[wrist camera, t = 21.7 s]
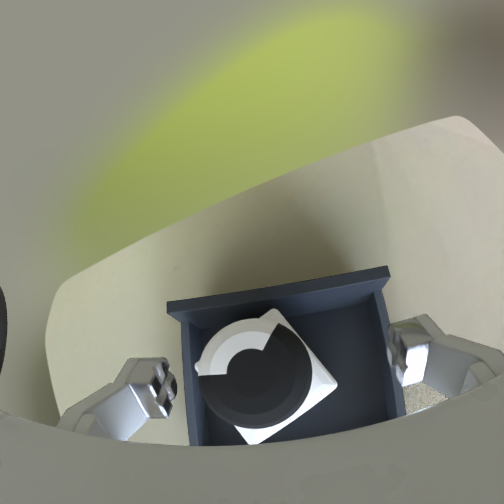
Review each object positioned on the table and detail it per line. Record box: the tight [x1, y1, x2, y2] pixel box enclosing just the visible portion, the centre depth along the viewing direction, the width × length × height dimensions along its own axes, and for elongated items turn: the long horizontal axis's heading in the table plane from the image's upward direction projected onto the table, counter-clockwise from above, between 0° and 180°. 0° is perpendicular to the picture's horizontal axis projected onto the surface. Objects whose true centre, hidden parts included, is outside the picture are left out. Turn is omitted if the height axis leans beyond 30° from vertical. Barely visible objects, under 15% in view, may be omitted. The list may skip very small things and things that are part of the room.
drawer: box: [167, 266, 406, 446], centre depth 22 cm, size 15×18×8 cm
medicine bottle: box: [195, 309, 337, 445], centre depth 19 cm, size 7×7×12 cm
